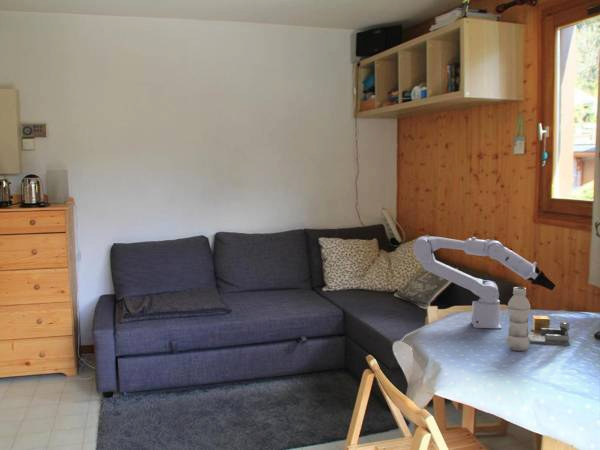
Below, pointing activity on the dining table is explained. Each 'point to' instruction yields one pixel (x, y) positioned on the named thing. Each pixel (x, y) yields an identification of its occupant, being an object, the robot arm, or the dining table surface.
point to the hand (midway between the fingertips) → (551, 286)
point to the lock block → (540, 323)
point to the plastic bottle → (518, 320)
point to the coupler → (551, 335)
